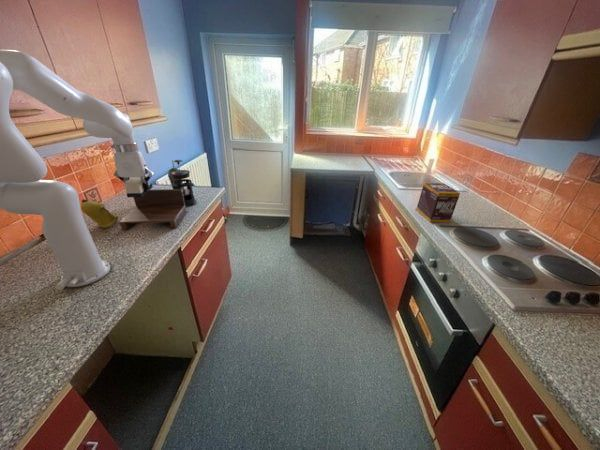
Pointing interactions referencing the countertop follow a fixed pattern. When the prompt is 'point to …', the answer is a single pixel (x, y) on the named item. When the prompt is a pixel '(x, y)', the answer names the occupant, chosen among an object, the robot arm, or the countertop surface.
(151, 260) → the countertop surface
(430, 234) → the countertop surface
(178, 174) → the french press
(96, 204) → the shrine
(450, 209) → the supplement box
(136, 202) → the shoe shelf
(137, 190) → the beige cuboid
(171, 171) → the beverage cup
